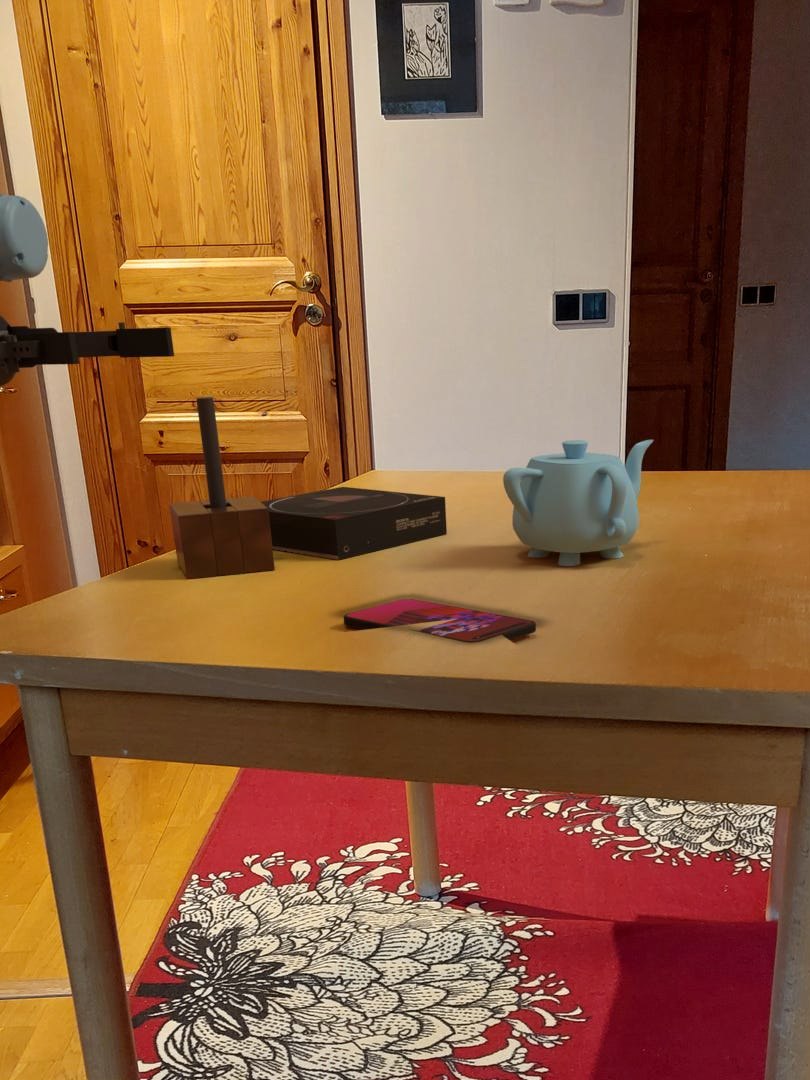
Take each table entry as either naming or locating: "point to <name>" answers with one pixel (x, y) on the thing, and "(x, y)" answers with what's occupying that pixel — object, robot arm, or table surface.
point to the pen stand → (222, 537)
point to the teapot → (576, 502)
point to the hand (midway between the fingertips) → (124, 344)
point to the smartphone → (463, 629)
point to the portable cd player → (353, 521)
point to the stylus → (211, 452)
